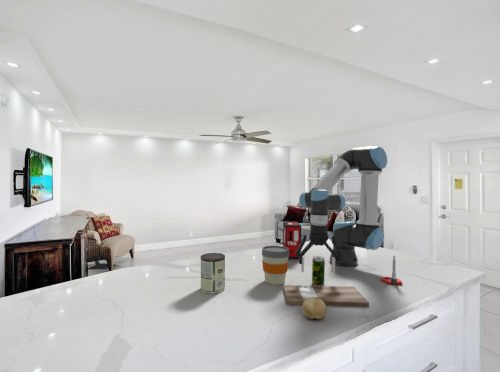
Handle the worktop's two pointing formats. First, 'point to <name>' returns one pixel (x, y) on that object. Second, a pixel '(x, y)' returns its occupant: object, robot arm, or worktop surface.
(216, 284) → the coffee can
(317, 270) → the beer can
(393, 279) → the tow hook
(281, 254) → the reusable coffee cup
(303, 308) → the onion
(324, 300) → the walnut board
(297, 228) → the cleaning product box
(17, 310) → the worktop surface
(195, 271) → the worktop surface
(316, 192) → the robot arm
